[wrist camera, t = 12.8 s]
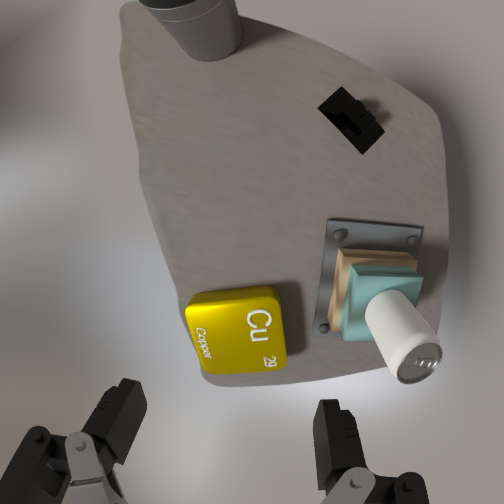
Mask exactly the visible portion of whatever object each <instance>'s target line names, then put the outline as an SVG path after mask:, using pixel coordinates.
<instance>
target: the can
mask: <svg viewBox="0 0 504 504" xmlns="http://www.w3.org/2000/svg"><path fill="white" fill-rule="evenodd" d="M365 320H366V323H367V325H368V327H369V329H370V331H371V333H372V335H373V337H374V339H375V341H376V343H377V345H378V348H379V350H380V352H381V354H382V356H383V358H384V360H385V362H386V364H387V366H388V368H389V370H390V372H391V373H392V374H393V375H394V376H396V377H397V378H398V380H399V381H400V382H401V383H404V384H414V383H417V382H420V381H422V380H424V379H425V378H427V377H428V376H430V375H431V374H432V372H434V371H435V370H436V368H437V367H438V366H439V364H440V362H441V359H442V354H443V352H442V348H441V347H440V342H439V339H438V337H437V335H436V334H435V332H434V331H433V330H432V328H431V327H430V326H429V324H428V323H427V322H426V321H425V319H424V318H423V317H422V316H421V315H420V313H419V312H418V311H417V310H416V308H415V307H414V306H413V305H412V304H411V303H410V301H409V300H408V299H407V298H406V297H405V296H404V295H403V294H402V293H401V292H399V291H397V290H386V291H383V292H381V293H379V294H378V295H376V296H375V297H374V298H373V299H372V300H371V301H370V302H369V304H368V306H367V308H366V312H365Z"/></svg>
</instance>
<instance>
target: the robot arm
mask: <svg viewBox="0 0 504 504" xmlns="http://www.w3.org/2000/svg"><path fill="white" fill-rule="evenodd" d="M139 1H140V2H141V3H142V4H143V5H144V7H145V8H146V9H147V10H148V11H149V12H150V13H151V14H152V15H153V16H154V17H155V18H156V19H157V20H158V21H159V22H160V23H161V24H162V25H163V27H164V28H165V29H166V30H167V31H168V32H169V33H170V34H171V35H172V37H173V38H174V39H175V40H176V41H177V42H178V43H179V45H180V46H181V47H182V48H183V49H184V50H185V51H186V52H187V54H188V55H189V56H191V57H192V58H194V59H197V60H200V61H216V60H220V59H223V58H225V57H227V56H229V55H230V54H231V53H233V52H234V51H235V50H236V49H237V48H238V46H239V45H240V43H241V40H242V34H243V32H242V28H241V24H240V19H239V15H238V11H237V7H236V4H235V0H139ZM146 410H147V401H146V398H145V395H144V392H143V389H142V386H141V383H140V382H139V381H136V380H131V379H127V378H124V379H122V381H121V382H120V384H119V386H118V387H116V386H113V387H111V388H110V389H108V390H107V391H106V392H105V393H104V395H103V396H102V398H101V399H100V401H99V403H98V404H97V407H96V408H95V409H94V411H93V413H92V414H91V416H90V418H89V419H88V421H87V422H86V424H85V426H84V428H83V429H82V430H81V431H80V432H74V433H72V434H70V435H69V436H68V437H67V436H58V435H52V434H50V432H49V431H48V430H47V429H46V428H45V427H42V426H35V427H32V428H31V429H30V430H29V431H28V432H27V434H26V435H25V437H24V439H23V440H22V442H21V444H20V446H19V448H18V449H17V451H16V453H15V454H14V456H13V458H12V460H11V461H10V463H9V465H8V467H7V469H6V471H5V472H4V474H3V477H2V478H1V480H0V504H61V503H62V500H63V498H64V495H65V493H66V490H67V488H68V485H69V489H70V493H71V496H72V500H73V503H74V504H128V503H127V501H126V499H125V497H124V495H123V492H122V490H121V487H120V485H119V482H118V480H117V477H116V474H115V472H114V469H113V466H114V464H115V462H116V463H119V464H121V465H123V464H124V462H125V459H126V457H127V455H128V452H129V450H130V448H131V445H132V443H133V441H134V439H135V436H136V434H137V432H138V429H139V427H140V425H141V423H142V421H143V418H144V416H145V413H146ZM313 437H314V447H315V457H316V468H317V480H318V490H326V498H325V499H324V500H323V501H322V502H321V504H429V499H428V495H427V490H426V486H425V482H424V479H423V478H422V476H421V475H419V474H417V473H415V472H406V473H403V474H402V475H400V476H399V477H398V478H397V477H384V476H378V475H375V474H374V473H372V472H371V471H370V470H369V469H368V468H367V466H366V463H365V458H364V454H363V450H362V445H361V441H360V437H359V433H358V429H357V424H356V420H355V417H354V416H353V415H352V414H351V412H350V411H349V410H340V406H339V402H338V400H337V399H328V400H320V401H319V405H318V408H317V411H316V415H315V417H314V421H313ZM71 478H72V483H70V481H71ZM69 483H70V484H69Z"/></svg>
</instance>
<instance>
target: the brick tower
mask: <svg viewBox="0 0 504 504" xmlns="http://www.w3.org/2000/svg"><path fill="white" fill-rule="evenodd" d="M420 235H421V229H420V228H417V227H408V226H398V225H388V224H378V223H367V222H355V221H343V220H329V219H327V225H326V235H325V244H324V253H323V261H322V269H321V276H320V284H319V291H318V298H317V304H316V310H315V317H314V323H313V329H312V337H343V338H344V341H365V340H375V339H374V337H373V335H372V333H371V331H370V329H369V327H368V325H367V323H366V320H365V312H366V308H367V306H368V304H369V302H370V301H371V300H372V299H373V298H374V297H375V296H376V295H378V294H379V293H381V292H383V291H386V290H397V291H399V292H401V293H402V294H403V295H404V296H405V297H406V298H407V299H408V300H409V301H410V303H411V304H412V305H413V306H414V307H416V304H417V300H418V297H419V293H420V290H421V286H422V282H423V277H422V276H421V275H420V274H419V273H418V272H417V271H416V269H417V264H418V260H416V256H417V251H418V246H419V240H420Z"/></svg>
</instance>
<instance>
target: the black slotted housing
mask: <svg viewBox="0 0 504 504" xmlns="http://www.w3.org/2000/svg"><path fill="white" fill-rule="evenodd" d="M365 108H366V107H365V106H364V105H363V104H362V103H361V102H360V101H359V100H355V99H354V98H353V97H352V96H351V95H350V94H349V93H348V92H347V91H346V90H345V89H344V88H343V87H340V88H339V89H338V90H337V91H336V92H334V93H333V94H332V95H331V96H330V97H329V98H328V99H327V100H326V101H324V102H323V103H322V104H321V105H320V106H319V107H318V110H319V111H321V112H322V113H323V114H324V115H325V116H326V117H327V118H328V119H329V120H330V121H331V122H332V123H333V124H334V125H335V126H336V127H337V128H338V129H339V130H340V132H341V133H342V134H343V135H344V136H345V137H346V138H347V139H348V140H349V141H350V142H351V143H352V144H353V145H354V146H355V148H356V149H357V150H358V151H359V152H360V153H361V154H362V155H363V154H364V153H365V152H366V151H367V150H368V149H369V148H370V147H371V146H372V145H373V144H374V143H375V142H376V141H377V140H378V139H379V138H380V137H381V136H382V135H383V134H384V132H385V131H384V130H383V128H382V127H381V126H380V125H379V124H378V123H377V122H376V121H375V120H376V118H375V117H374V116H373V115H372V114H371V113H370V111H366V110H365Z"/></svg>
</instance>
